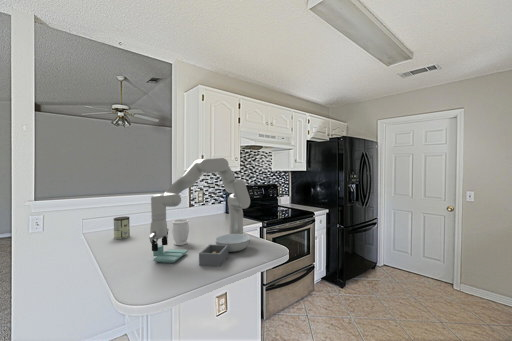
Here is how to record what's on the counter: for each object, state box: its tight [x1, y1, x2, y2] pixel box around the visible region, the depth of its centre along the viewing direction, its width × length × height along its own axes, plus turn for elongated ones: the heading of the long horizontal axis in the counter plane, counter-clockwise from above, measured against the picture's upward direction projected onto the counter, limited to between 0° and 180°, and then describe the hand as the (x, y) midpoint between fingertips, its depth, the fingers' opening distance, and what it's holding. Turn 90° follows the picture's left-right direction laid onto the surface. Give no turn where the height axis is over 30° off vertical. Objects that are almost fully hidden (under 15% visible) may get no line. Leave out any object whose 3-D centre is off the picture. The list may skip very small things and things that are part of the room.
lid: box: [152, 244, 189, 264], centre depth 134 cm, size 16×16×7 cm
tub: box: [198, 243, 229, 267], centre depth 130 cm, size 15×11×6 cm
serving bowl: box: [214, 233, 251, 253], centre depth 147 cm, size 21×21×7 cm
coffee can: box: [113, 215, 131, 240], centre depth 179 cm, size 10×10×14 cm
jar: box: [171, 219, 190, 246], centre depth 160 cm, size 11×10×15 cm
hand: (160, 247), depth 135 cm, fingers open, 9 cm apart
